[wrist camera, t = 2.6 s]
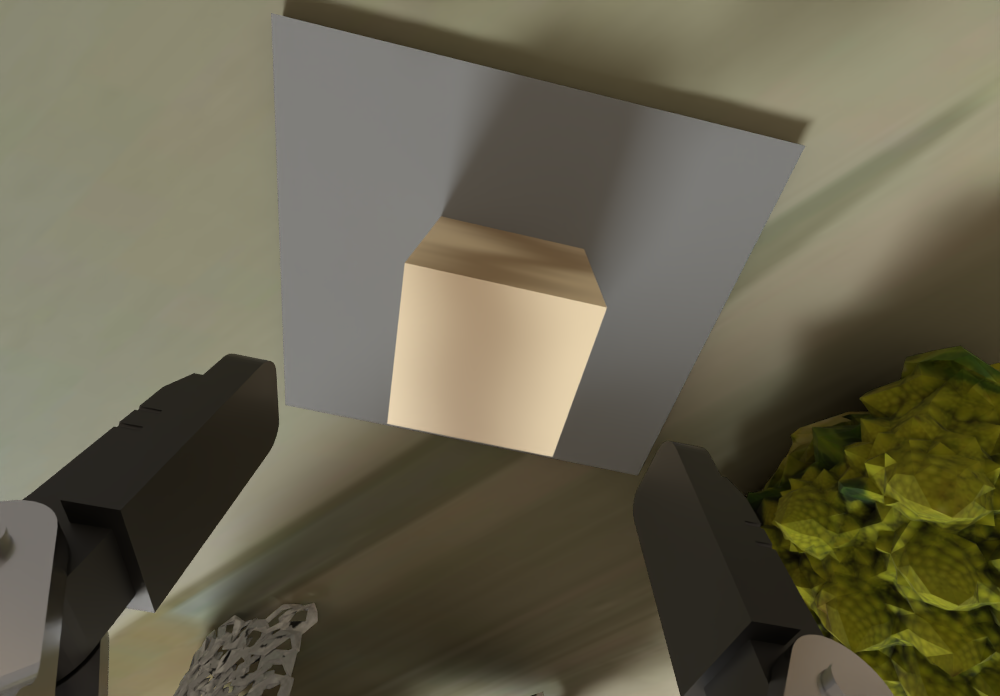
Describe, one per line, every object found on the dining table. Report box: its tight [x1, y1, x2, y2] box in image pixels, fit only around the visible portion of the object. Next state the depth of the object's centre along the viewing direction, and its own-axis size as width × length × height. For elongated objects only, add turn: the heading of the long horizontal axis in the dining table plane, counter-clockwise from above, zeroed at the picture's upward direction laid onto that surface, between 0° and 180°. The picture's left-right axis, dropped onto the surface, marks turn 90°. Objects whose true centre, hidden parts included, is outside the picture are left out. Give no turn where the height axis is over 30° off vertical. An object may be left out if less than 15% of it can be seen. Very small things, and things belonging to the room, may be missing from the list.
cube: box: [387, 216, 607, 457], centre depth 14 cm, size 5×5×5 cm
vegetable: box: [746, 346, 1000, 696], centre depth 16 cm, size 15×16×15 cm
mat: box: [271, 13, 805, 475], centre depth 16 cm, size 16×14×1 cm
